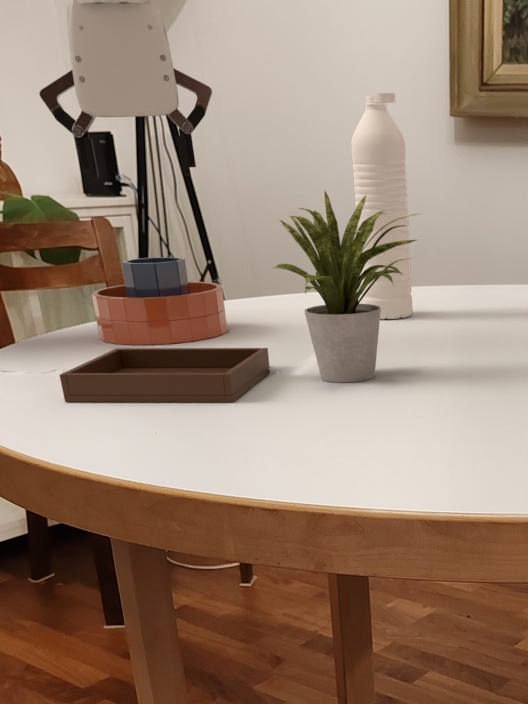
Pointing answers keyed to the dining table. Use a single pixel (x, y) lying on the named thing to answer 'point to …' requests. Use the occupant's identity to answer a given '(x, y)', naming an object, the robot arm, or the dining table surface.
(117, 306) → the bowl
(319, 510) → the dining table surface
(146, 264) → the cup
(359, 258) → the house plant
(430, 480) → the dining table surface
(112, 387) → the tray
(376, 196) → the water bottle
